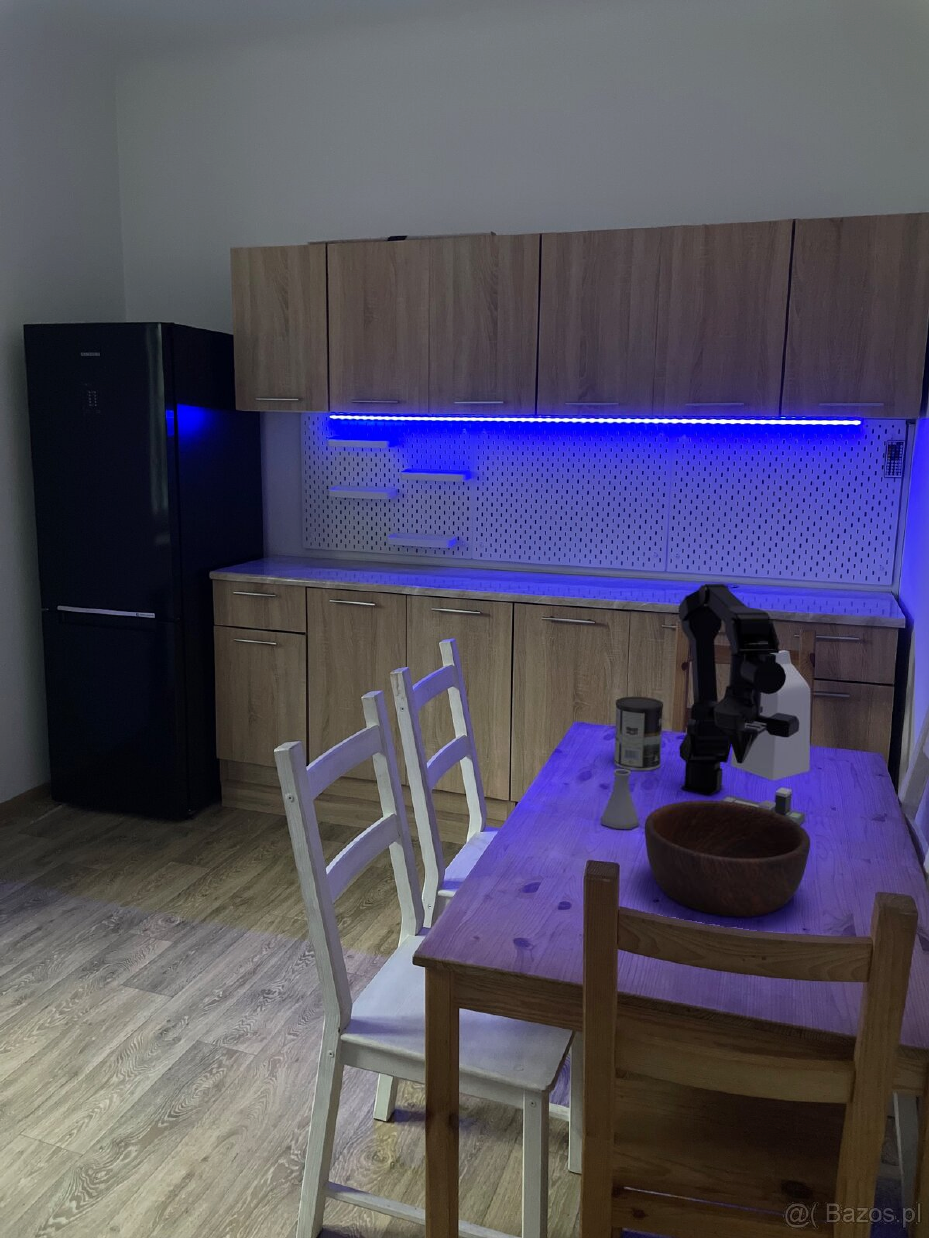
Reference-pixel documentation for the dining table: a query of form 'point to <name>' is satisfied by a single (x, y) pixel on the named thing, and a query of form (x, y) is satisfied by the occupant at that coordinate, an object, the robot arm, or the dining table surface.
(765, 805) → the block
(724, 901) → the wooden bowl
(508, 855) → the dining table surface
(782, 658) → the milk
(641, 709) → the coffee can
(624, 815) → the flask
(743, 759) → the robot arm
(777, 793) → the breaker far
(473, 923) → the dining table surface
